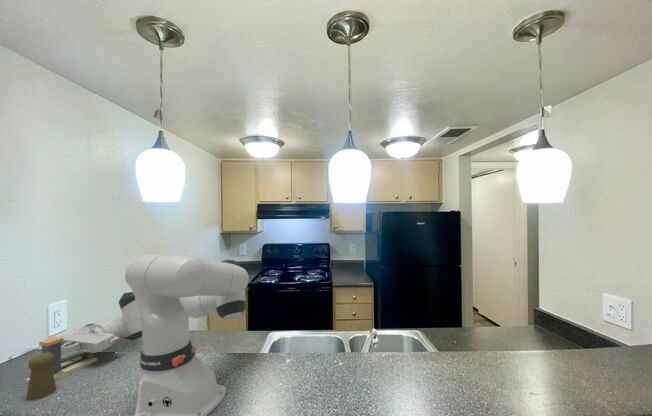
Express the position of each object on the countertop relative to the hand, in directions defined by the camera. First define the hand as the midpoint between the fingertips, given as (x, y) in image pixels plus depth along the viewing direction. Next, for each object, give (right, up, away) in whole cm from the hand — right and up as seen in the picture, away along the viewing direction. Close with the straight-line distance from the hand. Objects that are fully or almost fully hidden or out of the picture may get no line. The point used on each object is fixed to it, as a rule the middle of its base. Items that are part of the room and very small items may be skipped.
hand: (57, 352), depth 89 cm
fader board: (+1, -7, +1) cm, 7 cm away
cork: (+6, -7, -11) cm, 14 cm away
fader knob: (0, -5, -2) cm, 6 cm away
